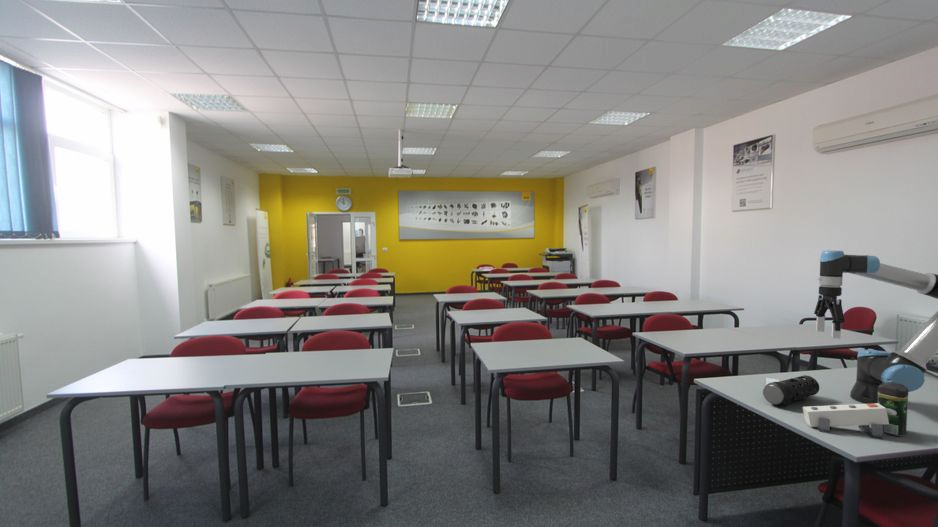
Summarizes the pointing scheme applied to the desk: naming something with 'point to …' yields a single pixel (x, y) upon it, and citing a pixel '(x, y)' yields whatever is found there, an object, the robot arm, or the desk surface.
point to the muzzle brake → (790, 390)
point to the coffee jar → (894, 407)
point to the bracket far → (823, 425)
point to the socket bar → (847, 414)
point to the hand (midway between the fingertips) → (827, 334)
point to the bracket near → (873, 430)
